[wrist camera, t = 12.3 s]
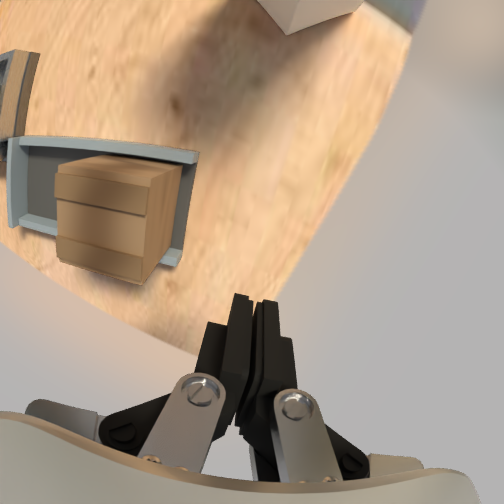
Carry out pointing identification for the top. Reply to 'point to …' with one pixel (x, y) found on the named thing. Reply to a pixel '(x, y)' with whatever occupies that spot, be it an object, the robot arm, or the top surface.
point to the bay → (72, 149)
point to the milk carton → (306, 12)
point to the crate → (116, 214)
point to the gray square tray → (15, 94)
